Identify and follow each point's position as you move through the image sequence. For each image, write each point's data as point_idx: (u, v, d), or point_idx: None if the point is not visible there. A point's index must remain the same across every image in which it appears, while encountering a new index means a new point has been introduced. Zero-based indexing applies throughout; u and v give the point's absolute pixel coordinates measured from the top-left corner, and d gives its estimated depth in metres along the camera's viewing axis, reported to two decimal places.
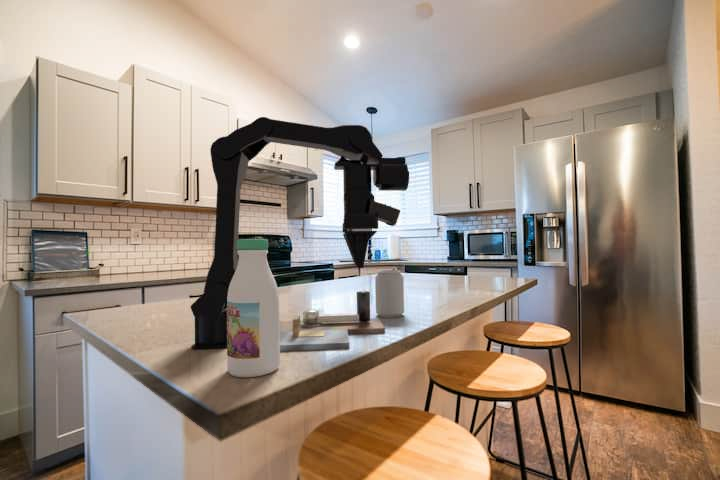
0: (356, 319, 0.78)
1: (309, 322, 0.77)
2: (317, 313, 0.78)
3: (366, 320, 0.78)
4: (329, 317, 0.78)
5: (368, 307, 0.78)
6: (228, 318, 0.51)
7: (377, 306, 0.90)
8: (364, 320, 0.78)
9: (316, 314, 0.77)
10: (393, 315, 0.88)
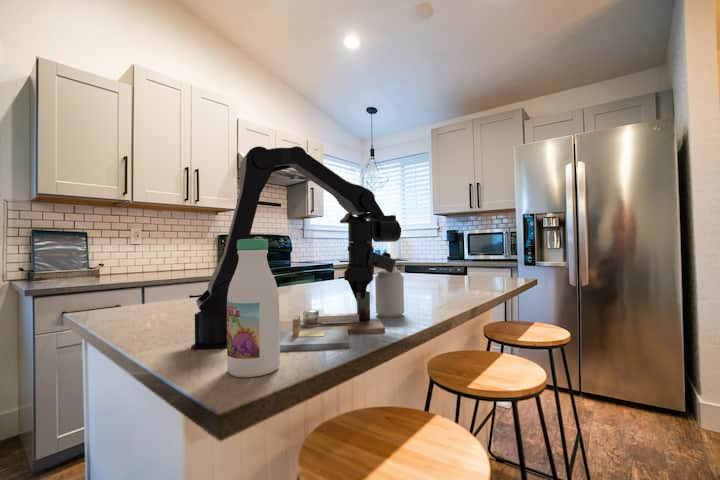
0: (356, 319, 0.78)
1: (309, 322, 0.77)
2: (317, 313, 0.78)
3: (366, 320, 0.78)
4: (329, 317, 0.78)
5: (368, 307, 0.78)
6: (228, 318, 0.51)
7: (377, 306, 0.90)
8: (364, 320, 0.78)
9: (316, 314, 0.77)
10: (393, 315, 0.88)
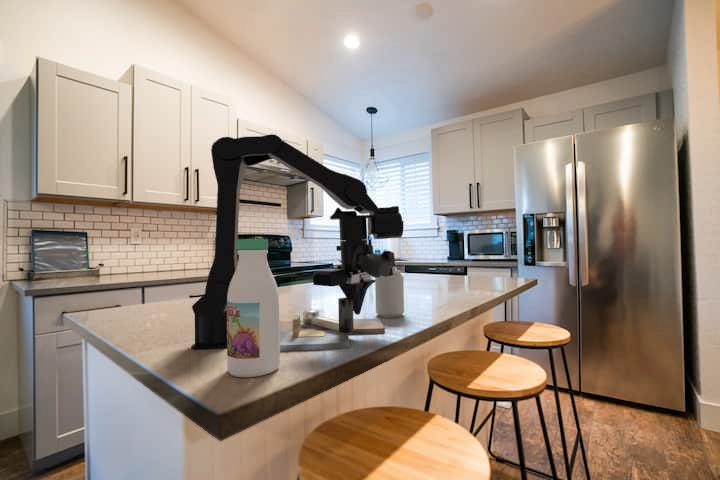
0: (336, 328, 0.70)
1: (304, 321, 0.77)
2: (311, 314, 0.77)
3: (342, 331, 0.68)
4: (318, 320, 0.75)
5: (345, 316, 0.68)
6: (228, 318, 0.51)
7: (377, 306, 0.90)
8: (340, 330, 0.69)
9: (309, 315, 0.77)
10: (393, 315, 0.88)
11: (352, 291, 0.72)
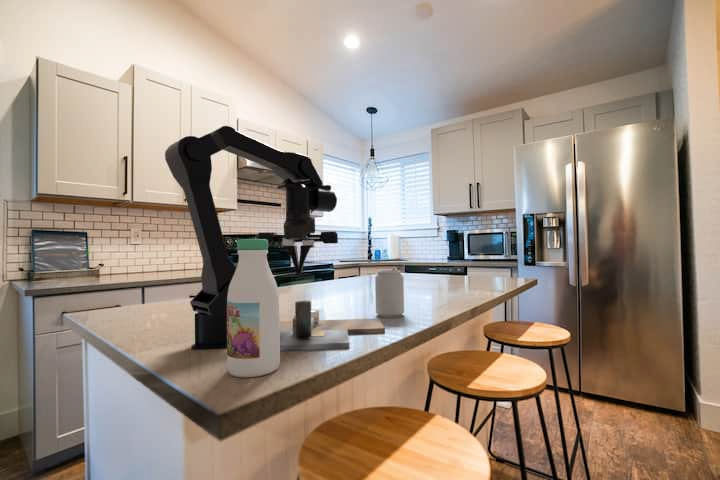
0: None
1: None
2: None
3: None
4: None
5: (297, 321, 0.65)
6: (228, 318, 0.51)
7: (377, 306, 0.90)
8: None
9: None
10: (393, 315, 0.88)
11: None
